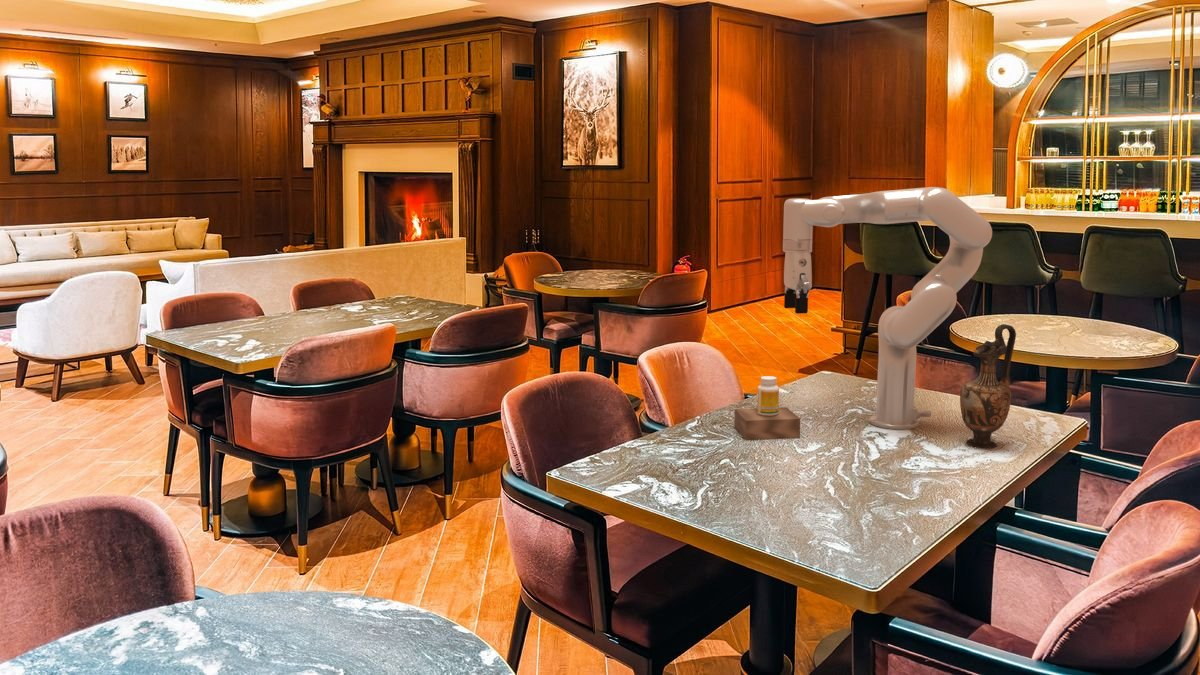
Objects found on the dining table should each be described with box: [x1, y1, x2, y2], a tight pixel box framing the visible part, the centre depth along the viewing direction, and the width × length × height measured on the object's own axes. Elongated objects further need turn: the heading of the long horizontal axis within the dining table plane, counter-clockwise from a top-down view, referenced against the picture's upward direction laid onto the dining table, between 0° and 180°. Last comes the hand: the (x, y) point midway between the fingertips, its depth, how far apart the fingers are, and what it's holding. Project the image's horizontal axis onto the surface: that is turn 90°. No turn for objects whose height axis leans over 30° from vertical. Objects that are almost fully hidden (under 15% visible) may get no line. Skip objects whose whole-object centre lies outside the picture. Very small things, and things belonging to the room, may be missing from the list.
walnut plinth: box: [734, 406, 801, 441], centre depth 246 cm, size 14×12×5 cm
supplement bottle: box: [756, 375, 780, 416], centre depth 245 cm, size 5×5×10 cm
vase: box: [959, 323, 1017, 450], centre depth 232 cm, size 12×12×30 cm
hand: (795, 310), depth 252 cm, fingers open, 9 cm apart
